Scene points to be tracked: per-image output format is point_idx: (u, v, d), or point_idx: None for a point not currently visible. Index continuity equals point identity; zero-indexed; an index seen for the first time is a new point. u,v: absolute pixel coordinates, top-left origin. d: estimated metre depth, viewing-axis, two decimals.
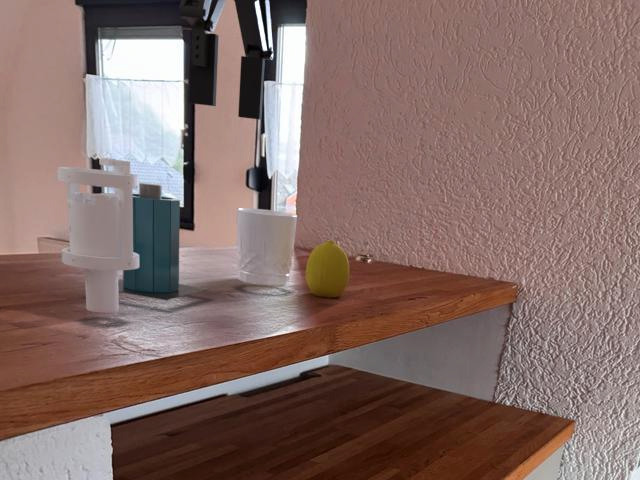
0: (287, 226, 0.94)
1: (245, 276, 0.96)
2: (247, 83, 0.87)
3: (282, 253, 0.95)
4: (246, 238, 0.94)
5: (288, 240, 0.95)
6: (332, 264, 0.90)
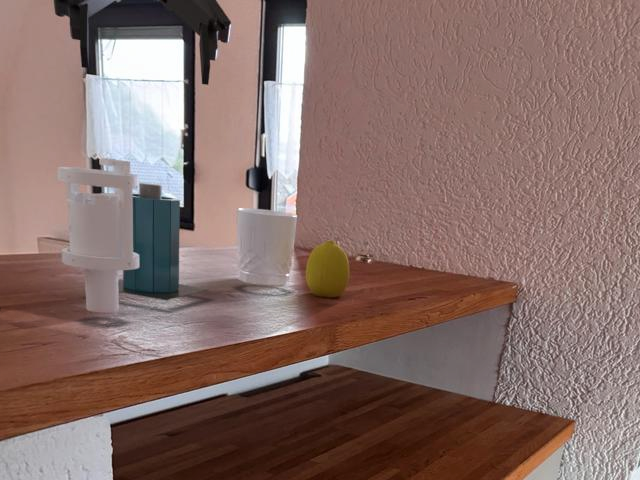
0: (287, 226, 0.94)
1: (245, 276, 0.96)
2: (87, 31, 0.84)
3: (282, 253, 0.95)
4: (246, 238, 0.94)
5: (289, 240, 0.95)
6: (332, 264, 0.90)
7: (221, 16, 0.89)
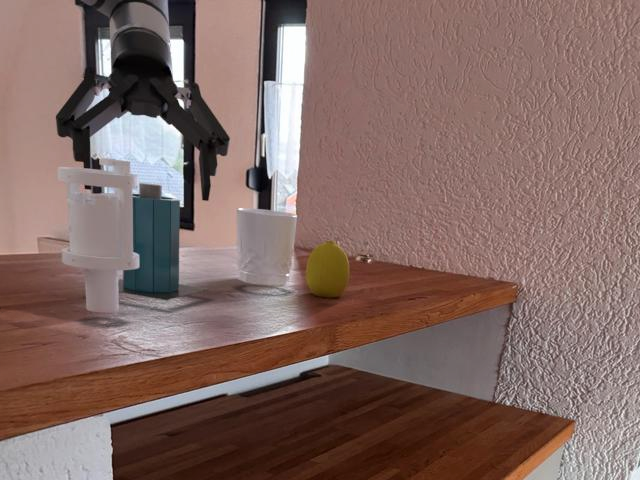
0: (287, 226, 0.94)
1: (245, 276, 0.96)
2: None
3: (282, 253, 0.95)
4: (246, 238, 0.94)
5: (289, 240, 0.95)
6: (332, 264, 0.90)
7: (220, 132, 0.91)
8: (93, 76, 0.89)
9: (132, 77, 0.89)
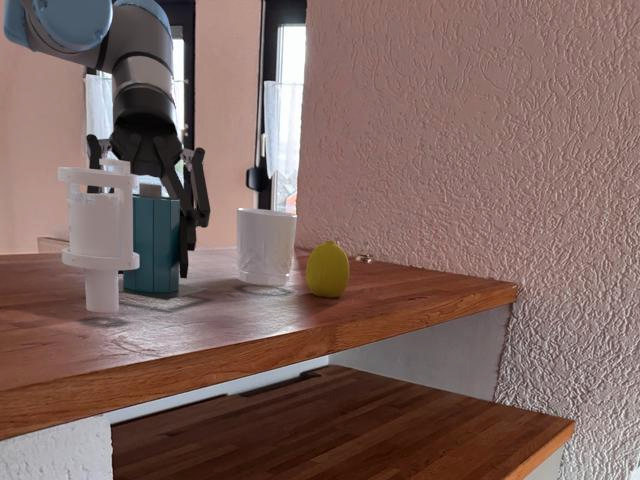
0: (287, 226, 0.94)
1: (245, 276, 0.96)
2: None
3: (282, 253, 0.95)
4: (246, 238, 0.94)
5: (288, 240, 0.95)
6: (332, 264, 0.90)
7: (203, 203, 0.85)
8: (97, 143, 0.84)
9: (135, 136, 0.85)
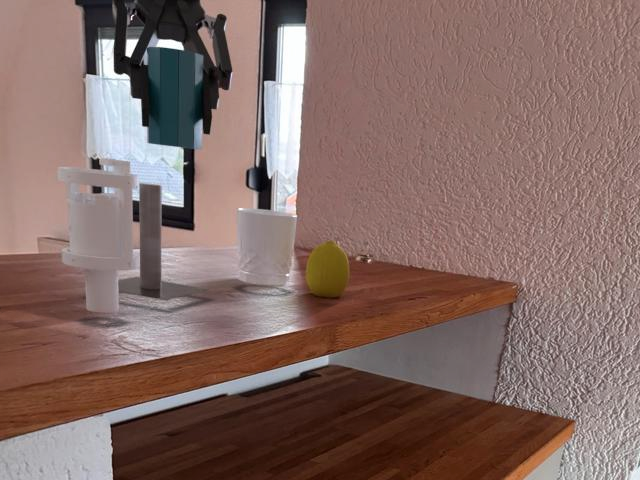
0: (287, 226, 0.94)
1: (245, 276, 0.96)
2: None
3: (282, 253, 0.95)
4: (246, 238, 0.94)
5: (289, 240, 0.95)
6: (332, 264, 0.90)
7: (225, 63, 0.88)
8: (123, 4, 0.86)
9: None
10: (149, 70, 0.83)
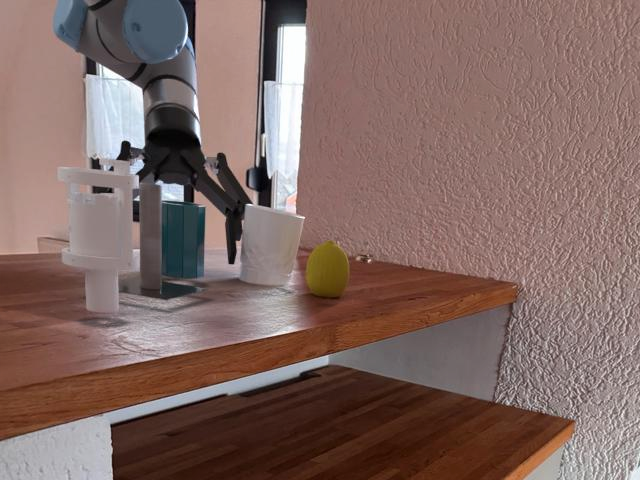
0: (294, 226, 0.94)
1: (247, 271, 0.96)
2: None
3: (286, 252, 0.95)
4: (251, 234, 0.94)
5: (294, 240, 0.95)
6: (332, 264, 0.90)
7: (245, 200, 0.98)
8: (129, 149, 0.96)
9: (165, 150, 0.96)
10: None
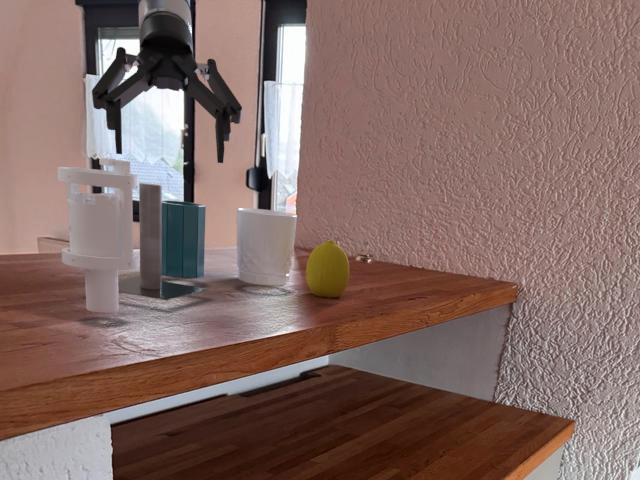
0: (287, 226, 0.94)
1: (245, 276, 0.96)
2: None
3: (281, 253, 0.95)
4: (246, 238, 0.94)
5: (288, 240, 0.95)
6: (332, 264, 0.90)
7: (233, 102, 1.04)
8: (124, 55, 1.02)
9: (157, 55, 1.03)
10: None
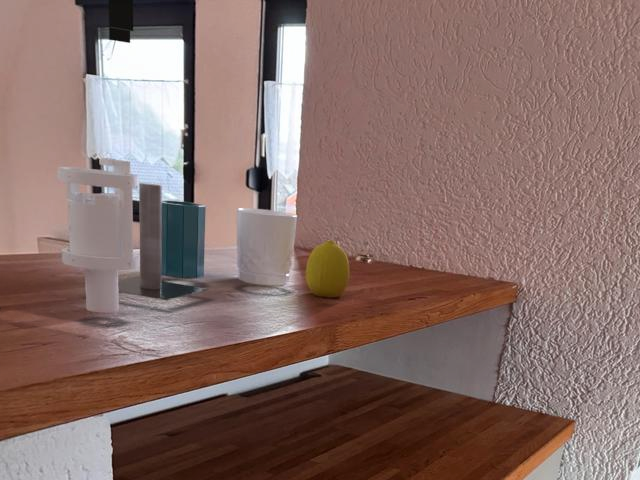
0: (287, 226, 0.94)
1: (245, 276, 0.96)
2: None
3: (281, 253, 0.95)
4: (246, 238, 0.94)
5: (288, 240, 0.95)
6: (332, 264, 0.90)
7: None
8: None
9: None
10: None
